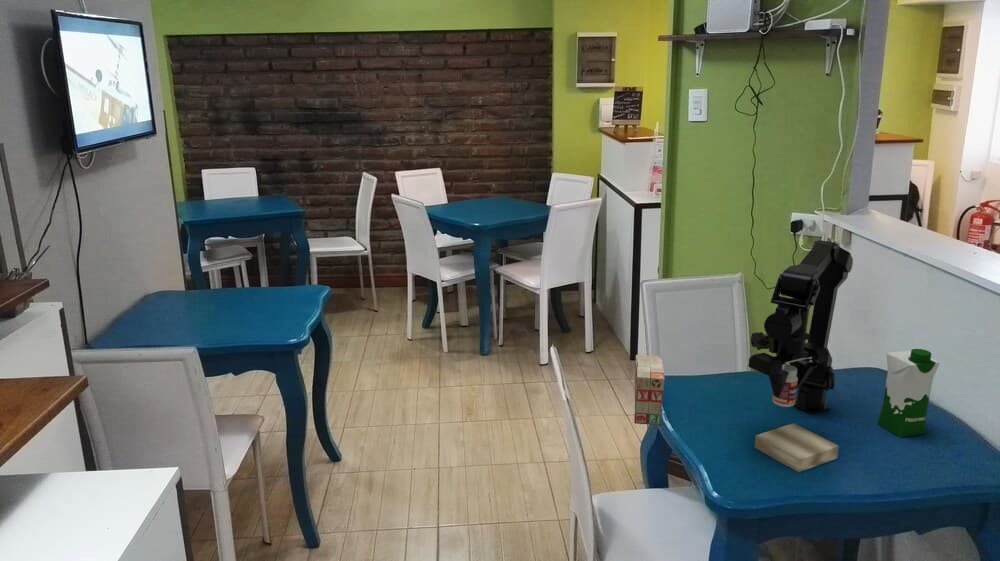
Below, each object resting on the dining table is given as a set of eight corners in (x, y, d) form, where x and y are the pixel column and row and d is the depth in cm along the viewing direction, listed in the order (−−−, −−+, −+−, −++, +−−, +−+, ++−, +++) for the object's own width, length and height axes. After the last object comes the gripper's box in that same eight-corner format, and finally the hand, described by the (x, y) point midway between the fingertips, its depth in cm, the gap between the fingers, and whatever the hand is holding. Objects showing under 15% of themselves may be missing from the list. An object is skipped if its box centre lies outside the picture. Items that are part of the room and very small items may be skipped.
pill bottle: (792, 409, 163) (796, 373, 161) (769, 403, 166) (773, 368, 164) (797, 401, 167) (801, 366, 165) (775, 396, 170) (779, 361, 168)
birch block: (791, 435, 172) (793, 423, 171) (837, 458, 162) (838, 445, 161) (754, 447, 166) (755, 435, 166) (798, 472, 156) (800, 459, 155)
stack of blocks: (633, 387, 198) (636, 343, 194) (658, 388, 197) (661, 344, 193) (634, 424, 177) (637, 376, 174) (661, 426, 176) (664, 378, 173)
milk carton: (898, 439, 170) (912, 357, 164) (870, 421, 178) (883, 343, 173) (931, 435, 172) (946, 354, 166) (902, 418, 180) (915, 340, 175)
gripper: (793, 311, 173) (785, 374, 177) (733, 323, 164) (726, 388, 169) (834, 325, 163) (825, 391, 168) (772, 338, 155) (764, 408, 159)
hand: (784, 394), depth 166 cm, fingers closed on pill bottle, 5 cm apart
